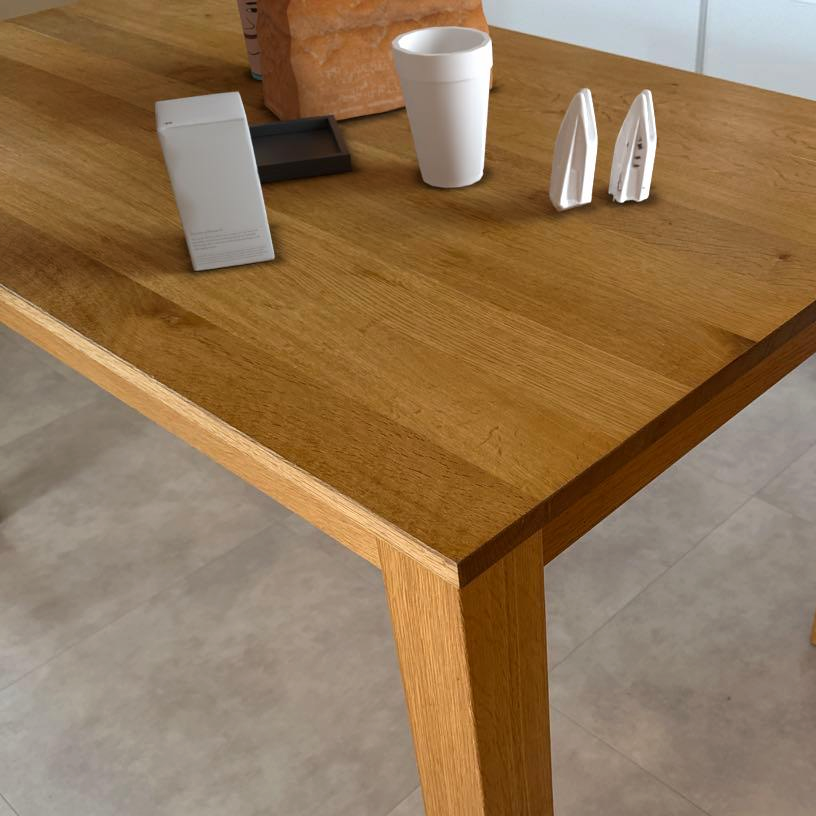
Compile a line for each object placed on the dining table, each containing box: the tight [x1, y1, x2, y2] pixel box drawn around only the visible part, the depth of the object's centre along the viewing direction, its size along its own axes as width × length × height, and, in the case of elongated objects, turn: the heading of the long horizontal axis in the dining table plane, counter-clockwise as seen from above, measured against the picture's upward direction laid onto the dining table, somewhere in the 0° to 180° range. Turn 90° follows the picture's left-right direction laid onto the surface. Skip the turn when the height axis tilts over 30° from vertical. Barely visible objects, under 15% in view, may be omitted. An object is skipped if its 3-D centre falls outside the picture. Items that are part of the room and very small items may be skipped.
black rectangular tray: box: [248, 115, 353, 184], centre depth 108 cm, size 13×13×2 cm
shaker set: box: [548, 87, 657, 212], centre depth 94 cm, size 12×4×11 cm, turn 119°
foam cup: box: [392, 26, 494, 189], centre depth 100 cm, size 10×9×13 cm
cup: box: [236, 0, 262, 81], centre depth 126 cm, size 7×7×15 cm
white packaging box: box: [154, 91, 275, 272], centre depth 88 cm, size 7×7×13 cm
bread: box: [256, 0, 494, 122], centre depth 118 cm, size 14×27×15 cm, turn 119°
